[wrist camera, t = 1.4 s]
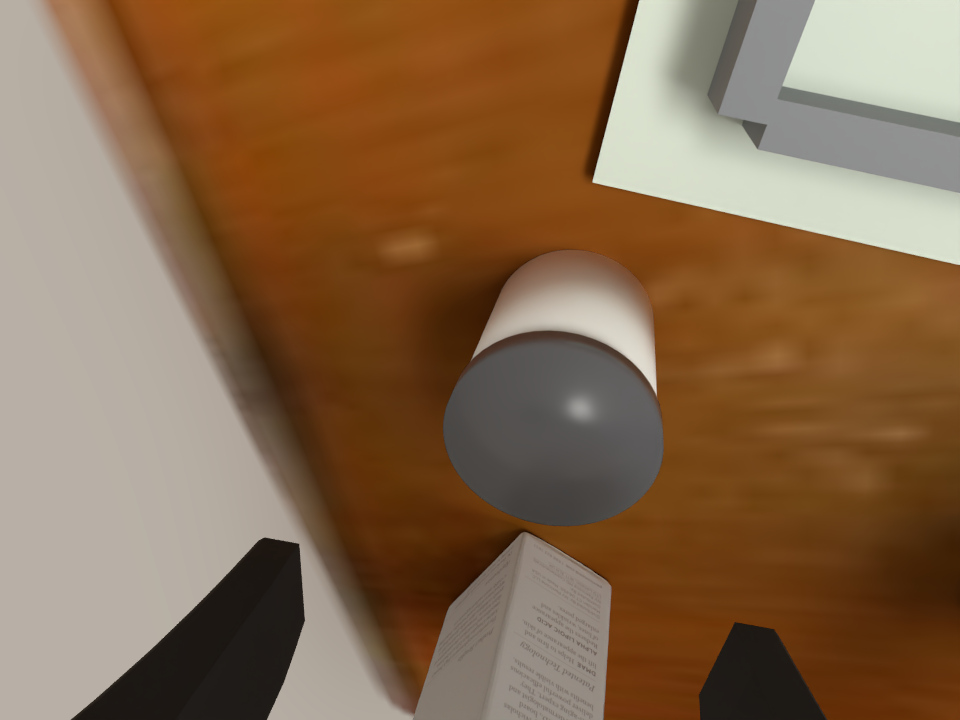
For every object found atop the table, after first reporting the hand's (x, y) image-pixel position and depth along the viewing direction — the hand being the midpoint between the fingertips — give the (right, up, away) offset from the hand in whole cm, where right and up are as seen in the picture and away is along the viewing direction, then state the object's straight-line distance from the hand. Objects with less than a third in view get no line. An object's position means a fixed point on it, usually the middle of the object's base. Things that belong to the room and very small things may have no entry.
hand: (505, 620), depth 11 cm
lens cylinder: (+2, +5, +9) cm, 11 cm away
